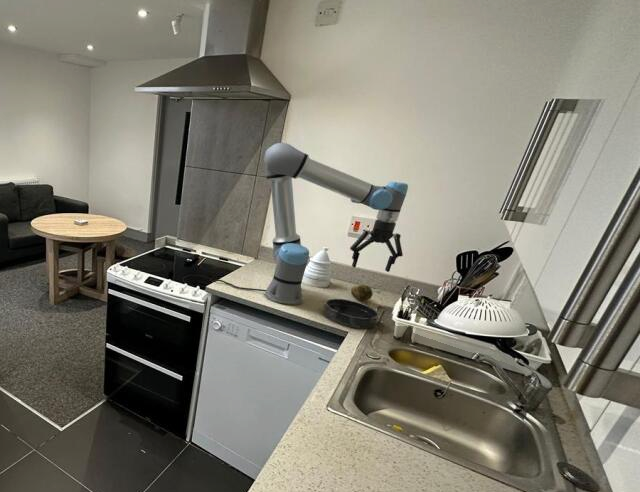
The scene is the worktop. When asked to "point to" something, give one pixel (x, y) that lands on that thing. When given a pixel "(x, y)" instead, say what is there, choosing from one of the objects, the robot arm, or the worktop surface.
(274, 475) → the worktop surface
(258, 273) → the worktop surface
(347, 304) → the pan
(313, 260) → the honey pot
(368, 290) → the potato
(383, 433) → the worktop surface
